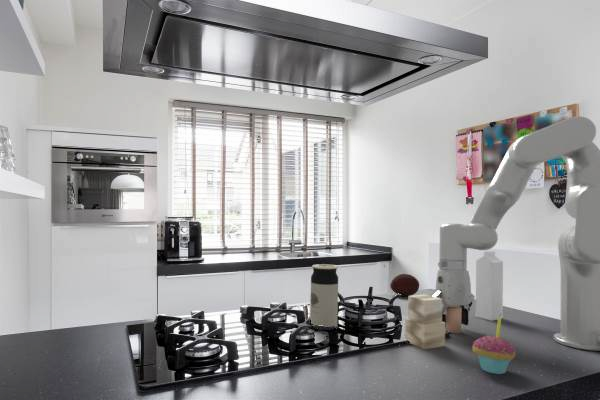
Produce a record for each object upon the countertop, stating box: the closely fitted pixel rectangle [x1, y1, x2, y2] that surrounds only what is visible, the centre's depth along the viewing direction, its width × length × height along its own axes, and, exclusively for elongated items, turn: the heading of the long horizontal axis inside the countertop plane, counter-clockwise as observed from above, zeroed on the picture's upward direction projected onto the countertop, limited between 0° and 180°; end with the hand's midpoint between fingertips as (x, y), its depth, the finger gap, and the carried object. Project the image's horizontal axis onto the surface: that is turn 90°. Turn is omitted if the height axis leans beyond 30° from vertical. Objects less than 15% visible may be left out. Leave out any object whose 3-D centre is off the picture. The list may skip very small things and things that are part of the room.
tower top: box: [407, 294, 442, 325], centre depth 106 cm, size 6×6×6 cm
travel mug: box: [309, 263, 339, 328], centre depth 118 cm, size 8×8×18 cm
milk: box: [475, 250, 504, 322], centre depth 135 cm, size 6×6×22 cm
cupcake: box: [471, 314, 516, 375], centre depth 88 cm, size 9×8×12 cm
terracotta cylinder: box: [444, 306, 462, 334], centre depth 118 cm, size 5×5×7 cm
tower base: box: [404, 317, 446, 350], centre depth 105 cm, size 7×7×6 cm
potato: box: [390, 273, 420, 297], centre depth 167 cm, size 9×12×9 cm
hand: (452, 325), depth 118 cm, fingers open, 8 cm apart
